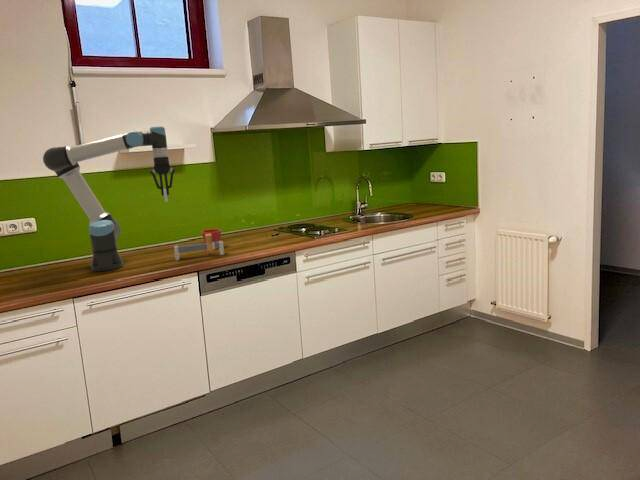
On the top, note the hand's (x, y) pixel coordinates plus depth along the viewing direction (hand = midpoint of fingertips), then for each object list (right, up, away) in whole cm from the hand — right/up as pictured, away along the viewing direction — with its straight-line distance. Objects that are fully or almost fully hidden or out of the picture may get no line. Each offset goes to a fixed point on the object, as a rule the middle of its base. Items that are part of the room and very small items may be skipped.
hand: (166, 201), depth 283 cm
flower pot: (+21, -25, +20) cm, 38 cm away
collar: (+23, -27, 0) cm, 36 cm away
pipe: (+18, -29, -1) cm, 34 cm away
